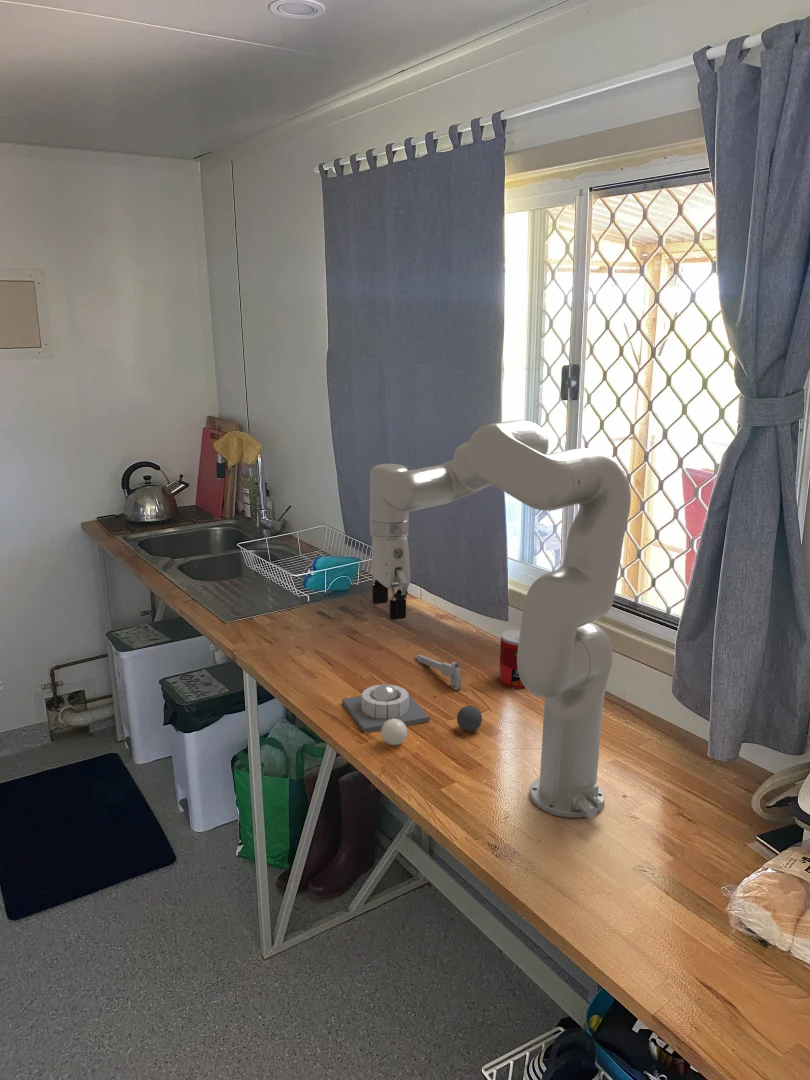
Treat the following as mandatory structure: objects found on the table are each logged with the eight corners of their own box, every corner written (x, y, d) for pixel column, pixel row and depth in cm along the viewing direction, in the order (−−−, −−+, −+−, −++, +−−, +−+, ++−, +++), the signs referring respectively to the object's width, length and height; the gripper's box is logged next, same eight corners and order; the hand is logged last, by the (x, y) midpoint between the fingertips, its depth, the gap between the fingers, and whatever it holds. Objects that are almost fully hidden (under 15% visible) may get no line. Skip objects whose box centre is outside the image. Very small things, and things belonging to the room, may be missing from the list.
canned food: (514, 691, 187) (516, 645, 184) (491, 678, 194) (493, 633, 191) (540, 684, 191) (543, 638, 188) (518, 671, 198) (520, 627, 195)
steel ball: (401, 710, 175) (400, 687, 174) (378, 714, 173) (377, 691, 172) (392, 701, 180) (391, 679, 179) (369, 705, 178) (369, 682, 177)
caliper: (461, 691, 188) (462, 664, 186) (456, 692, 187) (457, 665, 185) (417, 658, 205) (418, 633, 203) (413, 658, 205) (414, 634, 203)
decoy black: (486, 733, 169) (487, 710, 167) (463, 737, 167) (463, 714, 165) (474, 722, 173) (475, 699, 172) (452, 726, 171) (453, 703, 170)
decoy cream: (411, 747, 163) (411, 723, 161) (386, 752, 161) (386, 728, 160) (401, 735, 167) (401, 712, 166) (377, 739, 165) (377, 716, 164)
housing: (429, 721, 173) (429, 703, 172) (364, 733, 168) (364, 714, 167) (403, 693, 186) (404, 676, 185) (342, 703, 181) (342, 685, 179)
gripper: (424, 536, 160) (423, 622, 165) (391, 516, 176) (390, 595, 180) (387, 540, 157) (386, 627, 162) (356, 519, 173) (356, 599, 177)
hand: (388, 610), depth 171 cm, fingers open, 9 cm apart
